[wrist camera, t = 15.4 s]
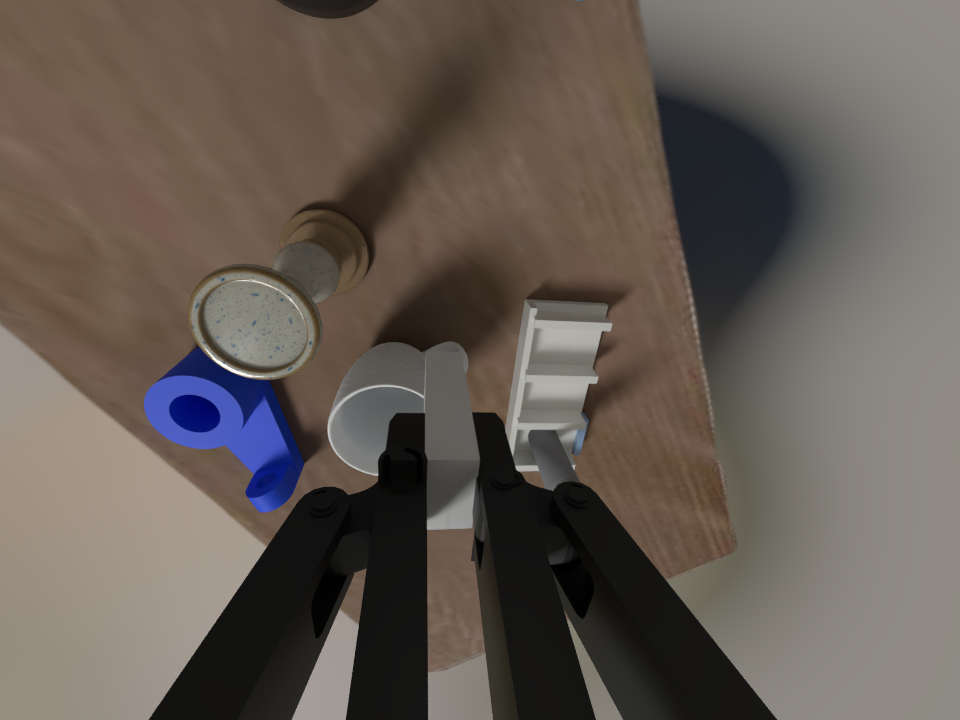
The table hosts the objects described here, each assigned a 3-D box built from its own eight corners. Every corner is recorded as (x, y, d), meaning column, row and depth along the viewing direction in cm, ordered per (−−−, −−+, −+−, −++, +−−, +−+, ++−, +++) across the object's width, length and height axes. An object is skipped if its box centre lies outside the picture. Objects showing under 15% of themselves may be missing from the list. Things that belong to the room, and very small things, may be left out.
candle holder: (379, 227, 42) (344, 287, 24) (358, 303, 45) (313, 404, 27) (290, 194, 39) (179, 233, 22) (275, 276, 43) (168, 368, 25)
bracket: (167, 354, 46) (122, 390, 39) (243, 332, 46) (211, 364, 39) (256, 476, 55) (233, 521, 48) (319, 458, 55) (305, 501, 48)
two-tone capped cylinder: (530, 423, 55) (558, 497, 43) (558, 423, 55) (593, 495, 44) (525, 446, 57) (551, 522, 45) (553, 446, 57) (585, 521, 46)
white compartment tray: (524, 298, 47) (532, 311, 44) (611, 303, 49) (625, 315, 45) (501, 457, 58) (505, 476, 55) (572, 456, 60) (581, 475, 56)
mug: (435, 291, 46) (439, 340, 34) (483, 363, 51) (500, 426, 39) (330, 356, 48) (300, 422, 36) (386, 418, 53) (375, 493, 41)
